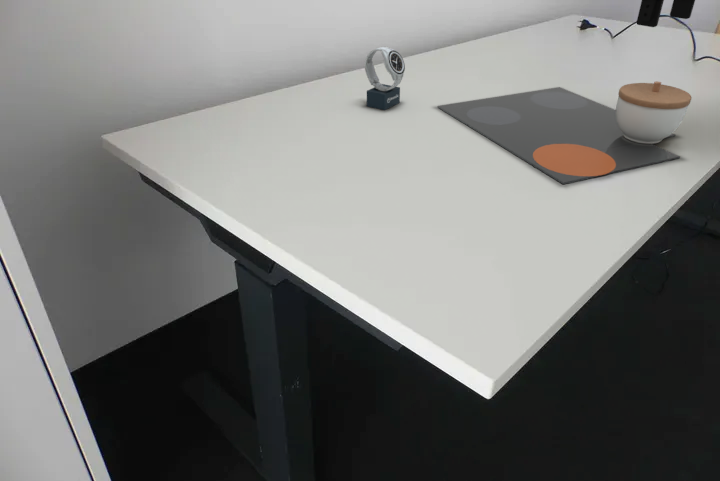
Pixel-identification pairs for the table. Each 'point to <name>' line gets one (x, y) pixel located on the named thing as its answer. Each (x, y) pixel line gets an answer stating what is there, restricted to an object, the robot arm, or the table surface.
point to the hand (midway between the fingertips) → (663, 21)
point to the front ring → (574, 160)
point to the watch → (382, 93)
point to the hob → (555, 128)
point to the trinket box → (650, 111)
